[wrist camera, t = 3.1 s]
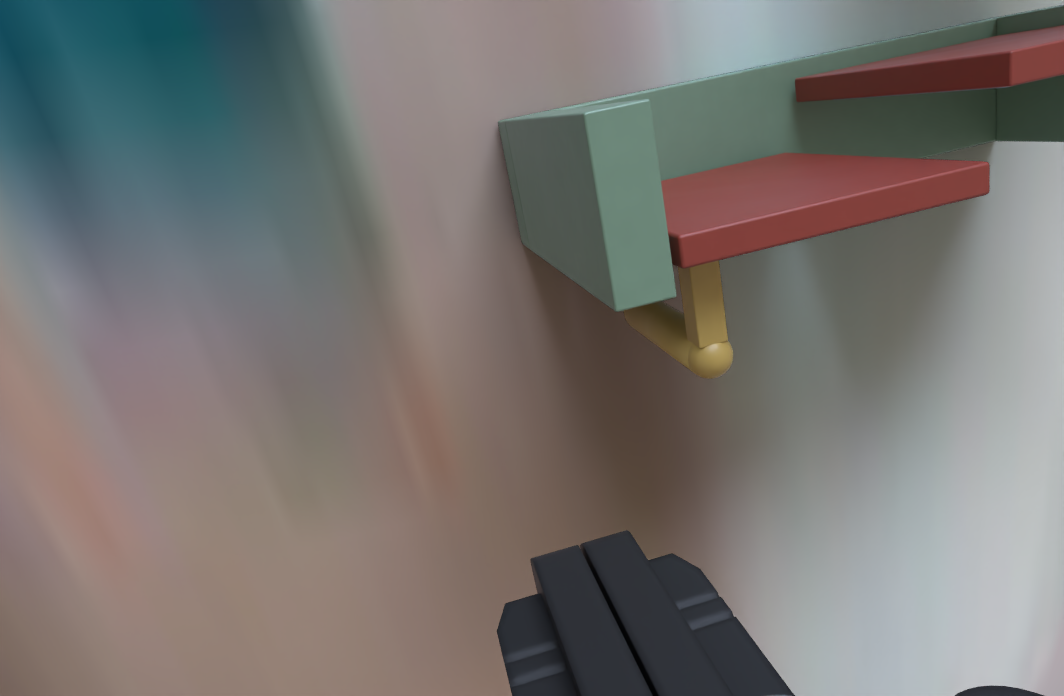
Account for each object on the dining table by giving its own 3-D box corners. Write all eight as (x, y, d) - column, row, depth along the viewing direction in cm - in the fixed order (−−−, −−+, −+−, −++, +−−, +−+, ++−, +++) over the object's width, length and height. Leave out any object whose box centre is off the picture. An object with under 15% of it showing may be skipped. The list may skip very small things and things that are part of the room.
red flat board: (795, 265, 28) (990, 326, 19) (592, 317, 26) (700, 406, 18) (786, 152, 26) (991, 161, 18) (572, 200, 25) (678, 235, 16)
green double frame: (998, 133, 30) (1332, 133, 19) (521, 244, 27) (616, 313, 17) (998, 16, 28) (1358, -51, 18) (497, 121, 26) (582, 112, 15)
